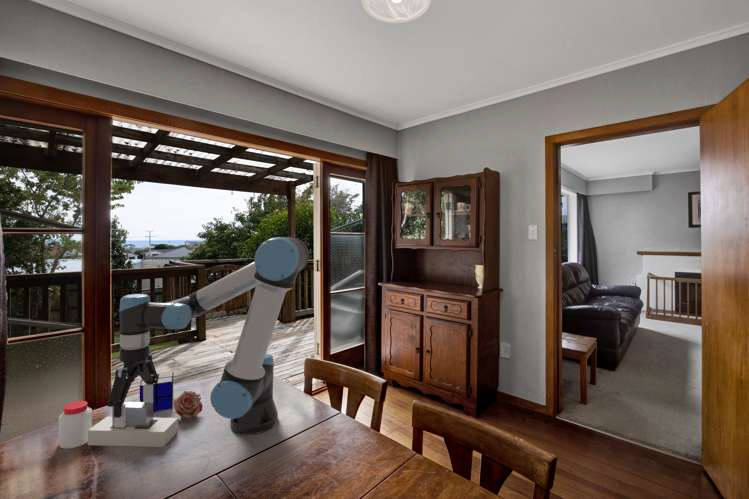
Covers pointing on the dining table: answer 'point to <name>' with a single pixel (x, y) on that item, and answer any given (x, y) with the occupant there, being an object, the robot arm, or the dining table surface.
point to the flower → (188, 405)
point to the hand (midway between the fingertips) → (134, 415)
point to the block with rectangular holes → (133, 433)
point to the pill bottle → (74, 424)
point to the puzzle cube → (161, 392)
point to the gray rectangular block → (137, 415)
